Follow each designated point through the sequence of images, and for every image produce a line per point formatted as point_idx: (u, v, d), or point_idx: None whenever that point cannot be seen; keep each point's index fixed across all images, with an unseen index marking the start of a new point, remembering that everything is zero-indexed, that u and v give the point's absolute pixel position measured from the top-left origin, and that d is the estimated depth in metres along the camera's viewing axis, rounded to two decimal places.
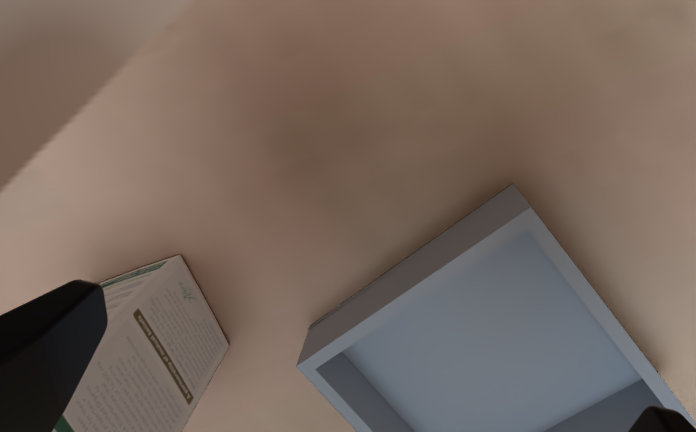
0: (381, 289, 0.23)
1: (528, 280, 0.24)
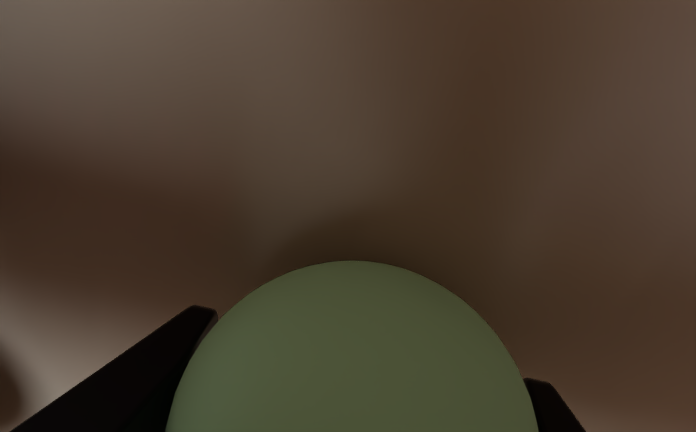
0: None
1: None
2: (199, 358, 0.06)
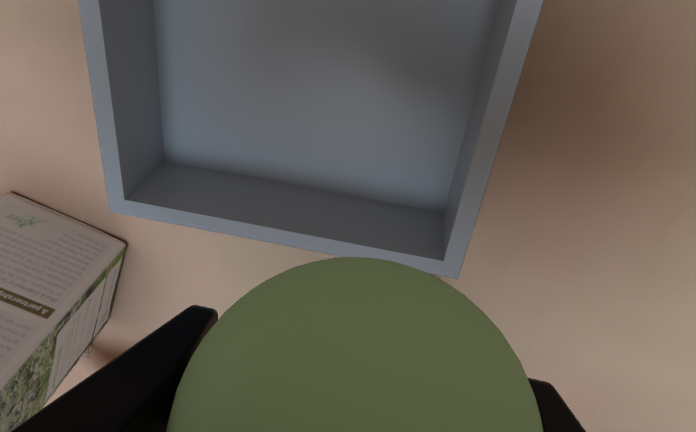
0: None
1: None
2: (201, 355, 0.06)
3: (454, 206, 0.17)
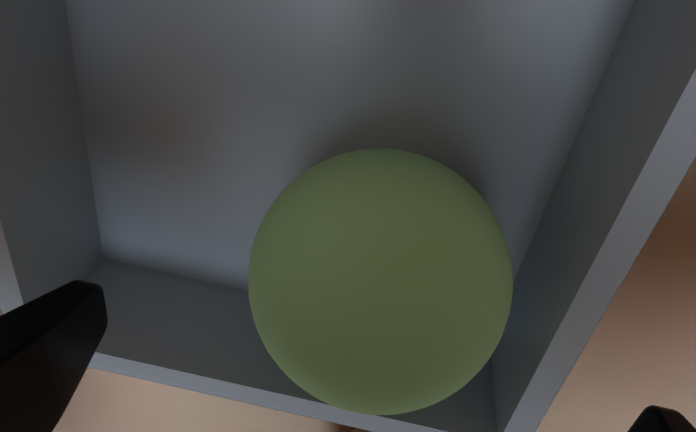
0: None
1: None
2: (275, 206, 0.09)
3: (516, 365, 0.11)
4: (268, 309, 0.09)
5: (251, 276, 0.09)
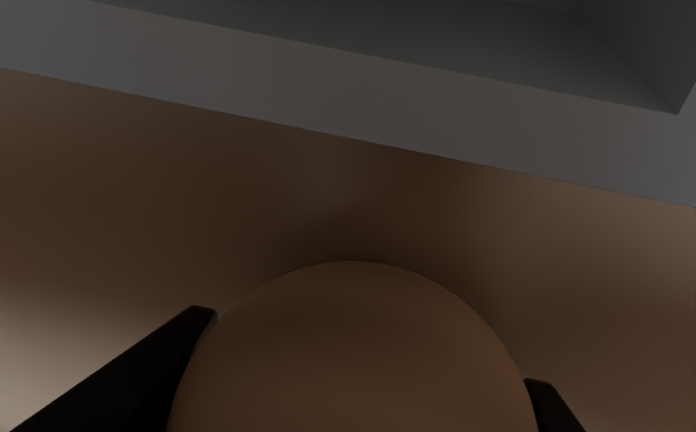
0: None
1: None
2: None
3: None
4: None
5: None
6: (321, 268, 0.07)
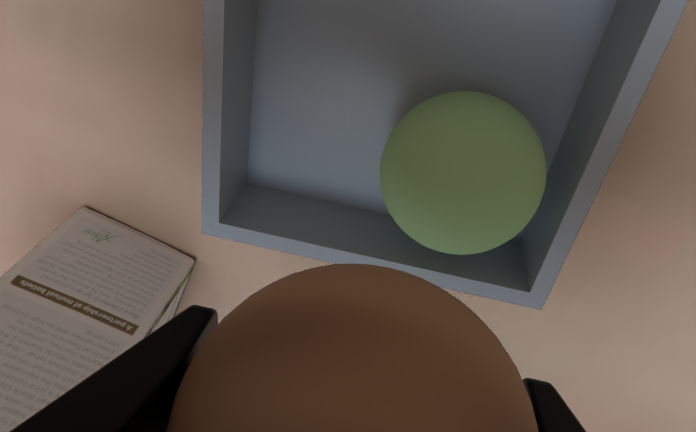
0: None
1: None
2: (403, 123, 0.15)
3: (542, 240, 0.17)
4: (406, 180, 0.14)
5: (389, 166, 0.15)
6: (321, 272, 0.07)
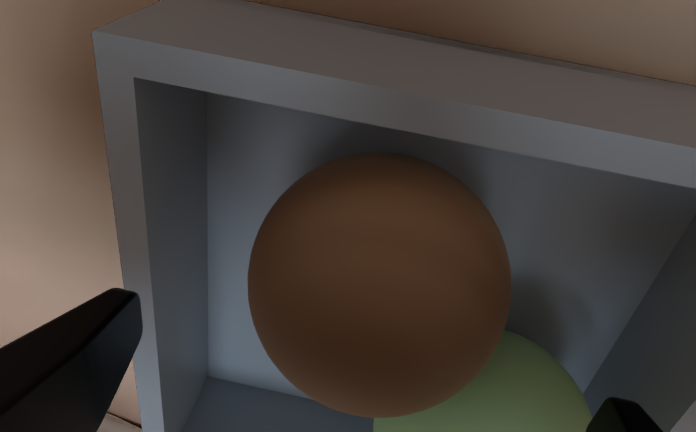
0: None
1: (361, 128, 0.11)
2: None
3: None
4: None
5: None
6: None
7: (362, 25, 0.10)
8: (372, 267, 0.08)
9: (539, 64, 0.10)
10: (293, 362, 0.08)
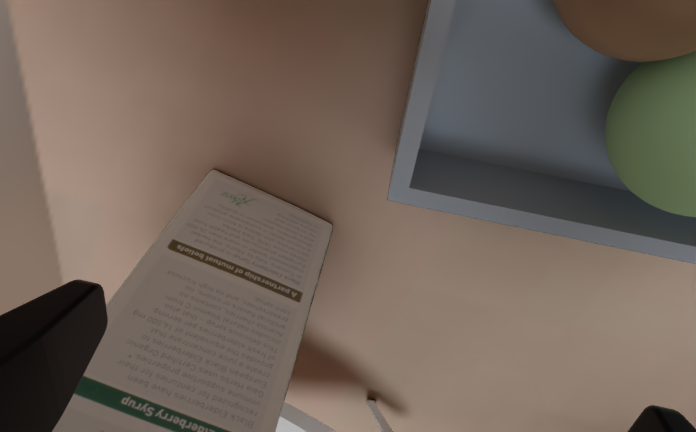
0: (421, 37, 0.16)
1: None
2: (659, 71, 0.13)
3: None
4: (680, 133, 0.13)
5: (647, 119, 0.13)
6: None
7: None
8: None
9: None
10: None
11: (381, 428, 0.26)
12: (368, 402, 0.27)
